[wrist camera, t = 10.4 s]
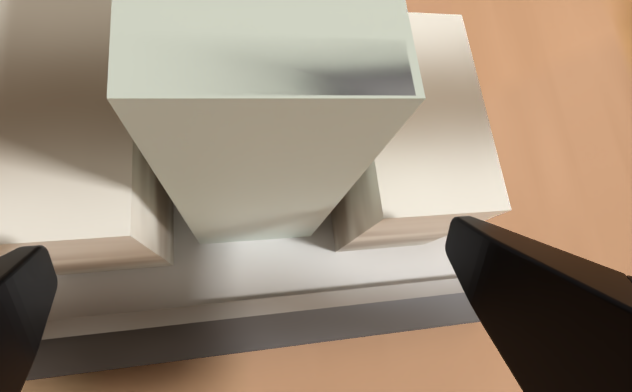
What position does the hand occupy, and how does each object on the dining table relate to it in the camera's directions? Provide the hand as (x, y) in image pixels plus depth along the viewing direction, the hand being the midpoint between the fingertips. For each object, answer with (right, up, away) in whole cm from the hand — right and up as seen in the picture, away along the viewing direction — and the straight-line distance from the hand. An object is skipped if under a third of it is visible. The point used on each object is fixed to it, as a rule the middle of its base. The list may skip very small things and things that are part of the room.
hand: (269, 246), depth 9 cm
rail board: (-2, +1, +9) cm, 10 cm away
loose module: (-2, +2, +8) cm, 8 cm away
